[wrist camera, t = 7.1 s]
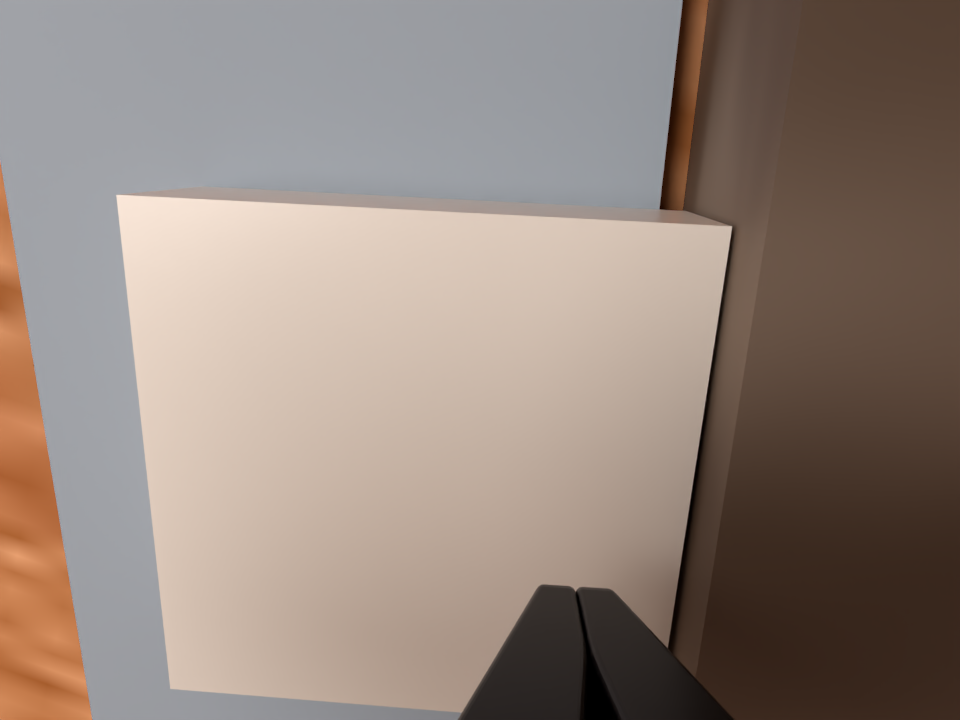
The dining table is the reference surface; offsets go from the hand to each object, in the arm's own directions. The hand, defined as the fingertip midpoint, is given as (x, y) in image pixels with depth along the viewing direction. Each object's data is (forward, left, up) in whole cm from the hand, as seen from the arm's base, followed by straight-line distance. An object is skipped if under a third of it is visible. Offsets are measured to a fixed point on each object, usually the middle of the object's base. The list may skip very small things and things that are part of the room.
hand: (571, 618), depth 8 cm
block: (0, +2, -5) cm, 5 cm away
